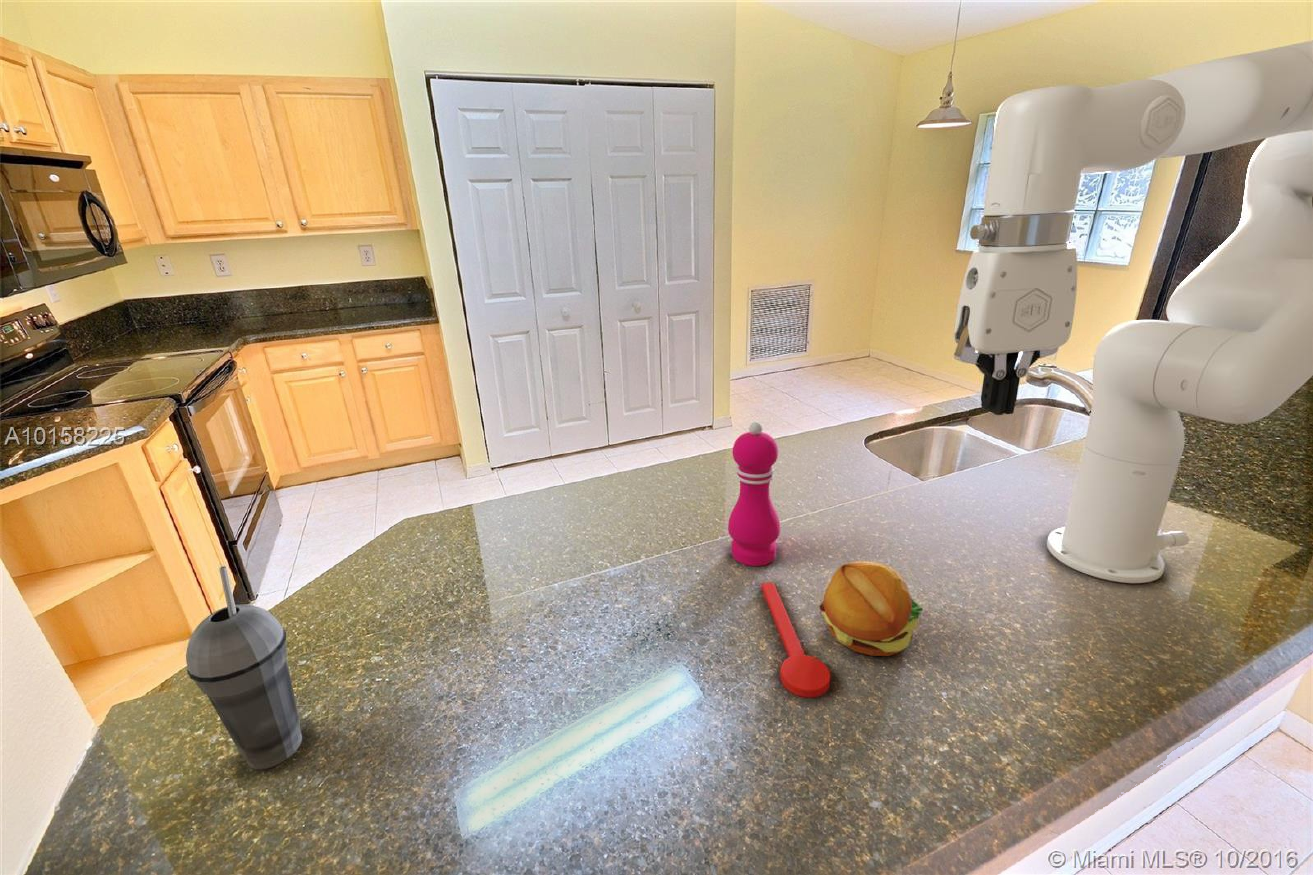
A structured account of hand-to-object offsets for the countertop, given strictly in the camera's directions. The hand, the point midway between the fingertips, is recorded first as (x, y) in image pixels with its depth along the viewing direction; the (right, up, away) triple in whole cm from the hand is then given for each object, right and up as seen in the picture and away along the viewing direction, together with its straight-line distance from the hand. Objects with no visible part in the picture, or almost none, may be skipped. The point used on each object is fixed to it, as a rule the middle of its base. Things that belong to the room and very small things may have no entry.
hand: (996, 410), depth 63 cm
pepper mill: (-23, -20, +19) cm, 36 cm away
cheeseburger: (-13, -26, +3) cm, 29 cm away
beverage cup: (-73, -33, -8) cm, 81 cm away
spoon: (-22, -26, +2) cm, 34 cm away
